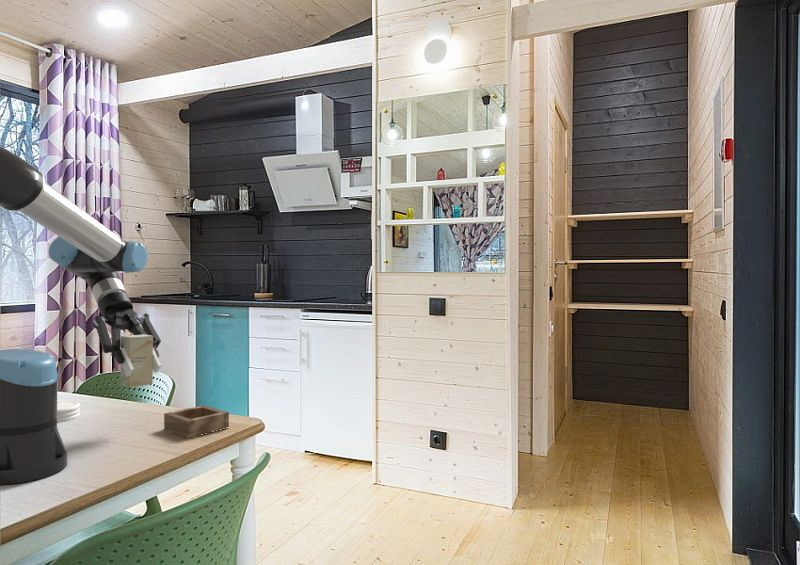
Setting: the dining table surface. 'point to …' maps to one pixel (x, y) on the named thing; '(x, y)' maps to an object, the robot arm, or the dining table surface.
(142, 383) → the skincare box
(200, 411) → the holder
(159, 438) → the dining table surface
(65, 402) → the white round piece
